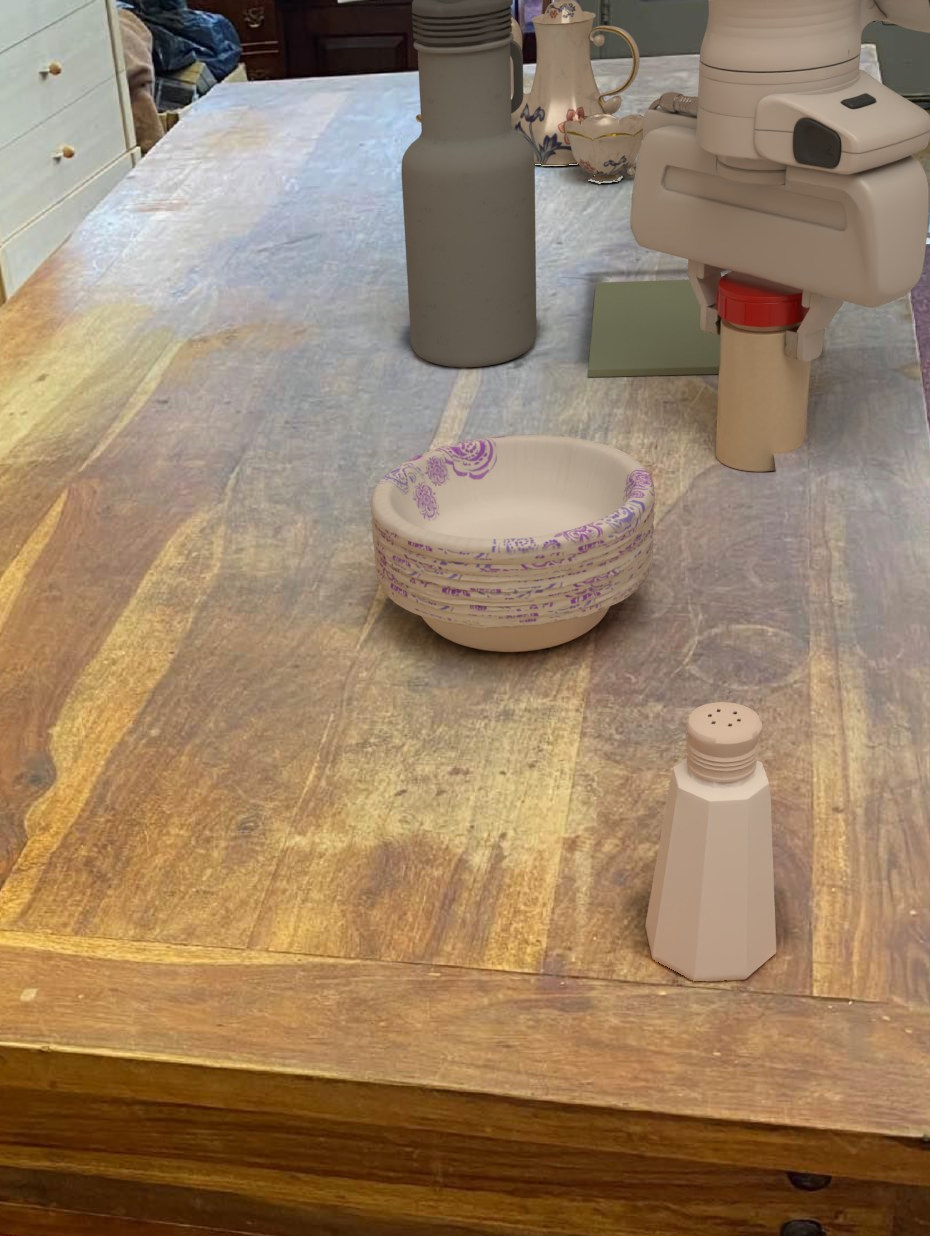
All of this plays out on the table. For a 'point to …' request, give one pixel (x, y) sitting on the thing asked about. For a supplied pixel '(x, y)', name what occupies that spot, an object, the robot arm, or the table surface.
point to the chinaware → (575, 98)
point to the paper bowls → (514, 538)
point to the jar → (759, 397)
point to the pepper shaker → (715, 853)
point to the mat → (649, 331)
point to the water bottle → (469, 190)
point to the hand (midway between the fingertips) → (759, 344)
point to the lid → (758, 301)
